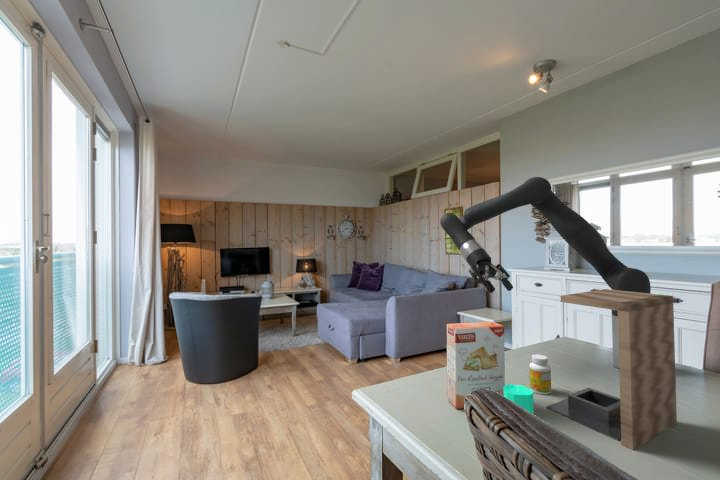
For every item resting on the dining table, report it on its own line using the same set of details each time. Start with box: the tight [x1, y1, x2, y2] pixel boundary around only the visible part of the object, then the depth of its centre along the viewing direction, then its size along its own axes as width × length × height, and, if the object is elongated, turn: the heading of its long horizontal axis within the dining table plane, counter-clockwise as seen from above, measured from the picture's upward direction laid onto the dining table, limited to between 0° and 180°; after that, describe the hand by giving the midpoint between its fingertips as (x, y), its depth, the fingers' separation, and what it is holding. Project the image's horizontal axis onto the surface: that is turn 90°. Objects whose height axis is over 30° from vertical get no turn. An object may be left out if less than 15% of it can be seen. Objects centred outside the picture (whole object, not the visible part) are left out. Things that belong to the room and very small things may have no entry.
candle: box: [504, 383, 535, 415], centre depth 72 cm, size 6×6×12 cm
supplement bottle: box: [529, 353, 552, 396], centre depth 94 cm, size 5×5×10 cm
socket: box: [545, 387, 621, 442], centre depth 81 cm, size 16×16×4 cm
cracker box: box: [446, 321, 506, 410], centre depth 88 cm, size 14×6×21 cm, turn 99°
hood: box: [559, 288, 678, 451], centre depth 78 cm, size 20×14×30 cm
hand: (502, 290), depth 109 cm, fingers open, 8 cm apart
